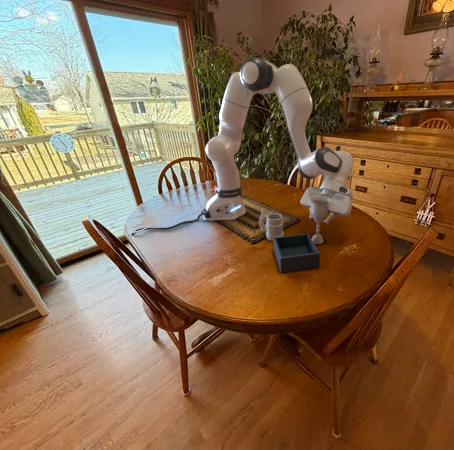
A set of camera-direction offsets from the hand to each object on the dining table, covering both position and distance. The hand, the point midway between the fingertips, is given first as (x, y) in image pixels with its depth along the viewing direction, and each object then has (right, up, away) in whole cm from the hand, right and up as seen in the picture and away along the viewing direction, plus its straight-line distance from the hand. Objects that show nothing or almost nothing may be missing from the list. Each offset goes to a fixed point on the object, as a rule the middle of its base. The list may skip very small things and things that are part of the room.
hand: (318, 221), depth 92 cm
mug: (-18, -6, +10) cm, 22 cm away
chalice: (+1, -8, +5) cm, 10 cm away
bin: (-10, -14, -5) cm, 18 cm away
